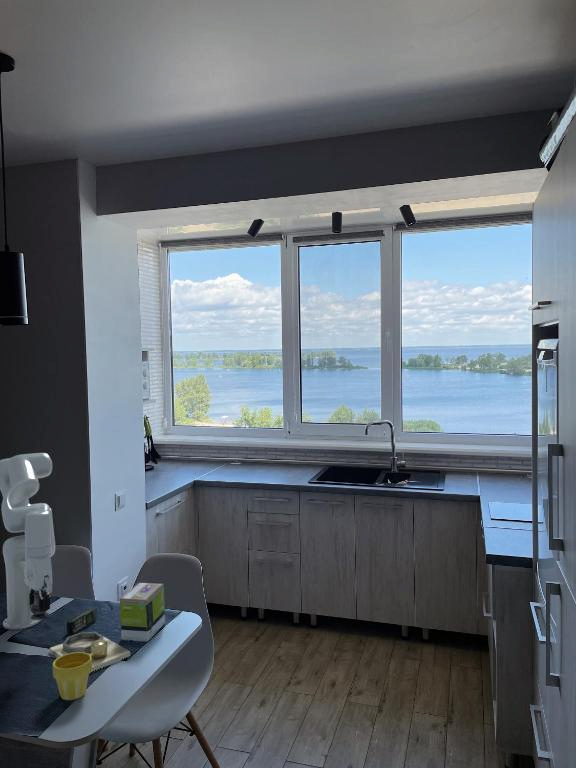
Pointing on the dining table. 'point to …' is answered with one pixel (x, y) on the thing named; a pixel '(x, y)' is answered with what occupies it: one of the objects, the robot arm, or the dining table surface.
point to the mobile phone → (81, 620)
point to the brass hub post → (99, 649)
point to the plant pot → (72, 674)
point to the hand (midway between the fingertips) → (39, 606)
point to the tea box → (142, 611)
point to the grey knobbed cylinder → (37, 607)
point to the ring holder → (78, 637)
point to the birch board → (113, 651)
